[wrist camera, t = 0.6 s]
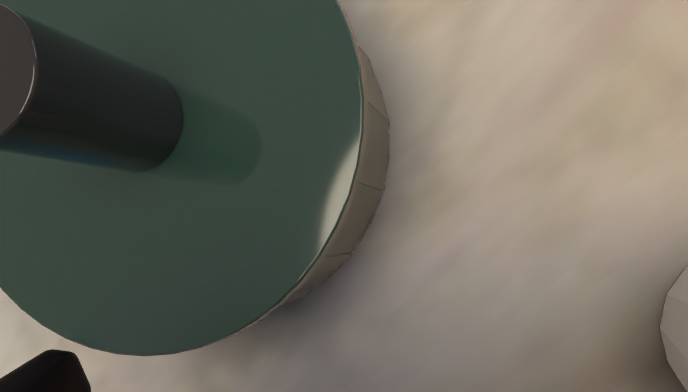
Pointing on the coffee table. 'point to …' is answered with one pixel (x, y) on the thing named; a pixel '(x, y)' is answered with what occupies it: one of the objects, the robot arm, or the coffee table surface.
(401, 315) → the coffee table surface
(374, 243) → the coffee table surface
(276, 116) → the tin lid
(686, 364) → the shot glass
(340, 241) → the tin
